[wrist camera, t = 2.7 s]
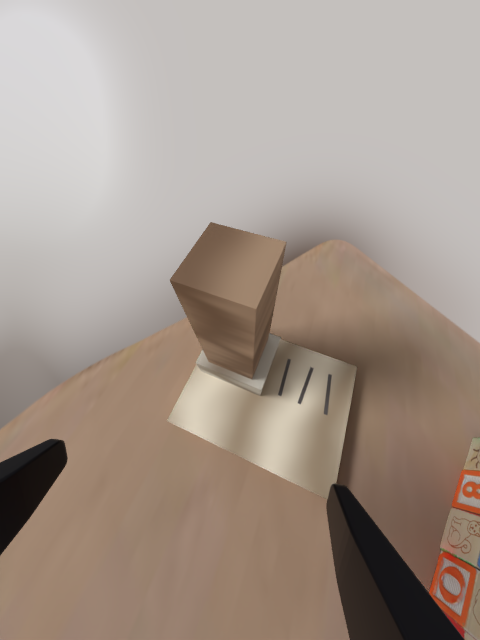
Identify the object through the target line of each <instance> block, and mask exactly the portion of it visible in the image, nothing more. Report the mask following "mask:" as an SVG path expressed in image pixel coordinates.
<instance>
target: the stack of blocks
mask: <svg viewBox="0 0 480 640" xmlns="http://www.w3.org/2000/svg"><path fill="white" fill-rule="evenodd" d="M440 549H441V553H440V555H439V558H438V564H437V567H436V571H435V573H434V577H433V581H432V585H431V588H430V592H429V594H430V595H431V596H432V598H433V599H434V600H435V602H436V603H437V604H438V606H439V607H440V608H441V609H442V611H443V612H444V613H445V615H446V616H447V617H448V619H449V620H450V621H451V622H452V624H453V625H454V626H455V628H456V629H457V630H458V632H459V633H460V634H461V635H462V637H463V638H464V639H465V640H480V438H473V439H472V443H471V446H470V449H469V453H468V456H467V460H466V463H465V466H464V470H462V472H461V475H460V479H459V482H458V486H457V489H456V493H455V496H454V499H453V503H452V508H451V510H450V513H449V516H448V519H447V523H446V526H445V530H444V533H443V537H442V540H441V544H440Z"/></svg>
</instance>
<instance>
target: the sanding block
mask: <svg viewBox="0 0 480 640" xmlns="http://www.w3.org/2000/svg"><path fill="white" fill-rule="evenodd" d="M285 247H286V242H284V241H280V240H277V239H272V238H269V237H265V236H261V235H257V234H254V233H250V232H246V231H242V230H238V229H234V228H230V227H227V226H223V225H219V224H215V223H212V222H211V223H210V224H209V225H208V227H207V228H206V230H205V231H204V232H203V234H202V235H201V237H200V238H199V239H198V241H197V242H196V244H195V245H194V247H193V248H192V249H191V251H190V252H189V254H188V255H187V257H186V258H185V259H184V261H183V262H182V263H181V265H180V266H179V268H178V269H177V270H176V272H175V273H174V275H173V276H172V278H171V279H170V282H171V284H172V286H173V288H174V290H175V292H176V294H177V297H178V299H179V301H180V303H181V305H182V307H183V309H184V311H185V313H186V315H187V318H188V320H189V322H190V324H191V326H192V328H193V330H194V332H195V334H196V336H197V339H198V341H199V343H200V345H201V347H202V349H203V350H202V352H201V354H200V355H199V357H198V359H197V361H196V364H197V366H198V367H199V369H200V370H201V371H202V372H204V373H207V374H209V375H211V376H214V377H216V378H218V379H221V380H223V381H225V382H228V383H230V384H233V385H235V386H237V387H240V388H242V389H244V390H247V391H249V392H251V393H254V394H256V395H259V396H260V395H261V392H262V390H263V387H264V384H265V381H266V379H267V376H268V373H269V370H270V368H271V365H272V362H273V359H274V357H275V354H276V351H277V348H278V345H279V342H280V339H281V337H278V336H276V335H273V334H270V327H271V322H272V316H273V311H274V306H275V300H276V295H277V290H278V284H279V279H280V274H281V268H282V263H283V258H284V252H285Z"/></svg>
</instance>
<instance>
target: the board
mask: <svg viewBox="0 0 480 640" xmlns="http://www.w3.org/2000/svg"><path fill="white" fill-rule="evenodd" d="M356 371H357V366H354V365H351V364H349V363H346V362H343V361H340V360H337V359H335V358H332V357H329V356H326V355H323V354H321V353H318V352H315V351H312V350H309V349H307V348H304V347H301V346H298V345H295V344H293V343H290V342H287V341H284V340H281V339H280V342H279V345H278V348H277V351H276V354H275V357H274V359H273V362H272V365H271V368H270V370H269V373H268V376H267V379H266V381H265V384H264V387H263V390H262V392H261V395H260V396H259V395H256V394H254V393H251V392H249V391H247V390H244V389H242V388H240V387H237V386H235V385H233V384H230V383H228V382H225V381H223V380H221V379H218V378H216V377H214V376H211V375H209V374H207V373H204V372H202V371H201V370H200V369H199V367H198V366H197V365H196V366H195V368H194V370H193V372H192V374H191V376H190V378H189V380H188V382H187V384H186V386H185V387H184V389H183V391H182V393H181V395H180V397H179V399H178V401H177V403H176V405H175V407H174V408H173V410H172V412H171V414H170V416H169V418H168V420H167V421H168V422H170V423H172V424H174V425H176V426H179V427H181V428H183V429H185V430H187V431H189V432H191V433H193V434H195V435H197V436H199V437H201V438H203V439H205V440H207V441H209V442H211V443H213V444H215V445H217V446H219V447H221V448H223V449H225V450H227V451H229V452H231V453H233V454H235V455H237V456H239V457H241V458H243V459H245V460H247V461H249V462H252V463H254V464H256V465H258V466H260V467H262V468H264V469H266V470H268V471H270V472H272V473H274V474H276V475H278V476H280V477H282V478H284V479H286V480H288V481H290V482H292V483H294V484H296V485H298V486H300V487H302V488H304V489H306V490H308V491H310V492H312V493H314V494H316V495H318V496H320V497H323V498H325V499H328V495H329V491H330V487H331V485H332V484H333V483H335V484H336V482H337V476H338V471H339V465H340V460H341V454H342V448H343V443H344V437H345V432H346V426H347V421H348V415H349V410H350V404H351V399H352V393H353V388H354V382H355V377H356Z"/></svg>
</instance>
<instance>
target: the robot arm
mask: <svg viewBox="0 0 480 640" xmlns="http://www.w3.org/2000/svg"><path fill="white" fill-rule="evenodd" d="M66 463H67V453H66V447H65V443H64V441H63V440H58V439H49V440H47V441H45V442H43V443H41V444H39V445H36V446H34V447H32V448H30V449H28V450H26V451H24V452H22V453H20V454H17V455H15V456H13V457H11V458H9V459H7V460H5V461H3V462H1V463H0V555H1V554H2V553H3V551H4V550H5V549H6V548H7V546H8V545H9V544H10V542H11V541H12V540H13V539H14V537H15V536H16V535H17V534H18V532H19V531H20V530H21V528H22V527H23V526H24V525H25V523H26V522H27V521H28V519H29V518H30V517H31V515H32V514H33V512H34V511H35V510H36V508H37V507H38V505H39V504H40V502H41V501H42V499H43V498H44V496H45V495H46V494H47V492H48V491H49V489H50V488H51V486H52V485H53V483H54V482H55V480H56V479H57V477H58V476H59V474H60V473H61V472H62V470H63V469H64V467H65V465H66ZM327 516H328V523H329V530H330V537H331V544H332V552H333V559H334V566H335V572H336V578H337V583H338V588H339V593H340V597H341V602H342V606H343V611H344V615H345V620H346V624H347V629H348V633H349V637H350V640H465V639H464V638H463V637H462V635H461V634H460V633H459V632H458V630H457V629H456V628H455V626H454V625H453V624H452V622H451V621H450V620H449V619H448V617H447V616H446V615H445V613H444V612H443V611H442V609H441V608H440V607H439V606H438V604H437V603H436V602H435V600H434V599H433V598H432V596H431V595H430V594H429V593H428V591H427V590H426V589H425V587H424V586H423V585H422V584H421V582H420V581H419V580H418V578H417V577H416V576H415V574H414V573H413V572H412V571H411V569H410V568H409V567H408V565H407V564H406V563H405V561H404V560H403V559H402V558H401V556H400V555H399V554H398V552H397V551H396V550H395V548H394V547H393V546H392V545H391V543H390V542H389V541H388V539H387V538H386V537H385V535H384V534H383V533H382V532H381V530H380V529H379V528H378V526H377V525H376V524H375V522H374V521H373V520H372V519H371V517H370V516H369V515H368V513H367V512H366V511H365V510H364V508H363V507H362V506H361V504H360V503H359V502H358V500H357V499H356V498H355V497H354V495H353V494H352V493H351V491H350V490H349V489H348V488H347V487H346V486H345V485H341V484H335V483H333V484H332V485H331V487H330V491H329V495H328V499H327Z"/></svg>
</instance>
